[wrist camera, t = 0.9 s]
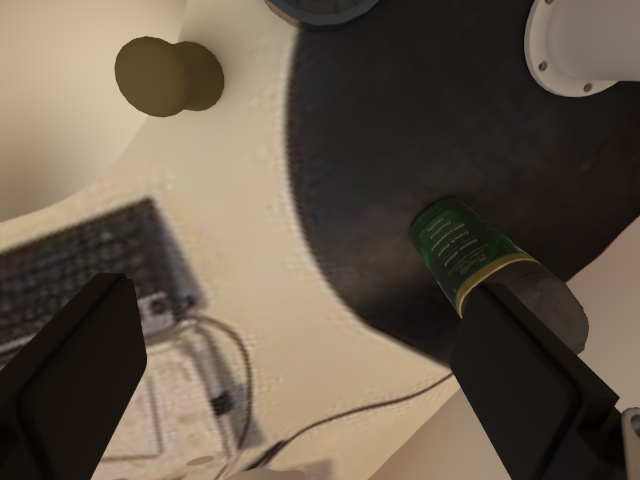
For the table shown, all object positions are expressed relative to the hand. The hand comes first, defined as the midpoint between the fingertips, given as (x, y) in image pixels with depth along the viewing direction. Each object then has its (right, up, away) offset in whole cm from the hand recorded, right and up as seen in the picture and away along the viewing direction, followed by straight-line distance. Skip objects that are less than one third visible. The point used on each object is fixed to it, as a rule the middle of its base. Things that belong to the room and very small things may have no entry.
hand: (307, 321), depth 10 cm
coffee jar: (+16, +3, +32) cm, 36 cm away
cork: (-12, +18, +23) cm, 32 cm away
